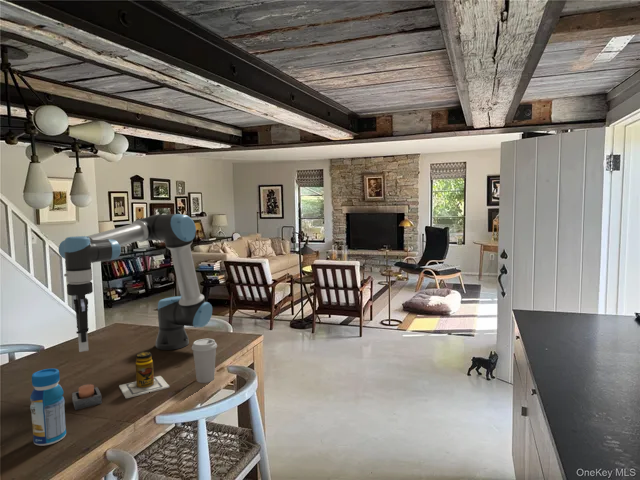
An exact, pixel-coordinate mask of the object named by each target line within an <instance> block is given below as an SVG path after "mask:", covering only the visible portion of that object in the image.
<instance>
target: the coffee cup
mask: <svg viewBox="0 0 640 480" xmlns="http://www.w3.org/2000/svg"><path fill="white" fill-rule="evenodd" d="M217 347H218V344H217V342H216V341H215V339H214V338H202V339H201V338H200V339H197V340H195V341H193V344H192V346H191V350H192V353H193V359H194V361H193V362H194V367H195V368H194V369H195V376H196V382H198V383H200V384H208V383H211V382H213V381H214V380H215V376H216V375H215V373H216V372H215V371H216V369H215V368H216V354H217V351H216V350H217Z"/></svg>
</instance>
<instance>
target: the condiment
mask: <svg viewBox="0 0 640 480" xmlns="http://www.w3.org/2000/svg"><path fill="white" fill-rule="evenodd" d="M135 356H136V357H135V378H136V379H135V382H136V383H134V384H132V385H130V386H128V387H132V388H137V389H144V390H146V389H148V388H150V387H152V386H153V385H155V384H157V383H158V382H159V381H154V377H155V375H154V374H155V373H154V361H153V359H152V353H151V352H150V351H143V352H139V353H137V354H136V355H135Z"/></svg>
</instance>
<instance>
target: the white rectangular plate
mask: <svg viewBox="0 0 640 480" xmlns="http://www.w3.org/2000/svg"><path fill="white" fill-rule="evenodd" d="M154 381H159V382H158V383H157V384H155V385H153V386H152V387H150V388H148V389H146V390H144V389H137V388H132V387H128V386H130V385H132V384H134V383H136V381H133V382H128V383H123V384H119V386H118V388H119V389H120V391H121V393H122V395H123V396H124V397H125V399H129V398H133V397H134V398H135V397H137V396H142V395H146V394H150V393H154V392H158V391H162V390H165V389H170V384H168V383H167V382H166V380H165V379H164V378H163V377H162V376H161V375H158V376H154ZM149 392H150V393H149Z"/></svg>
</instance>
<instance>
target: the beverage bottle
mask: <svg viewBox="0 0 640 480" xmlns="http://www.w3.org/2000/svg"><path fill="white" fill-rule="evenodd" d="M59 382H60V371H59V369H58V368H52V367H51V368H45V369H41V370H38V371H35V372H33V373H32V375H31V385H32V387H33V390H32V392H31V394H30V397H29V400H30V402H31V403H30V405H29V406H30V407H29V409H30V412H31V414H30V415H31V423H32V425H31V426H32V436H33V437H32V438H33V439H32V441H33V442H32V443H33V444H34V445H36V446H40V447H42V446H44V447H46V446H50V445H53V444H56V443H58V442H60V441H61V440H63V439H64V438H65V437H66V435H67V427H66V412H65V410H66V409H65V403H66V401H65V397H64V394H65V393H64V392H65V391H64V389H63V387H62V386H61V384H59Z"/></svg>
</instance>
